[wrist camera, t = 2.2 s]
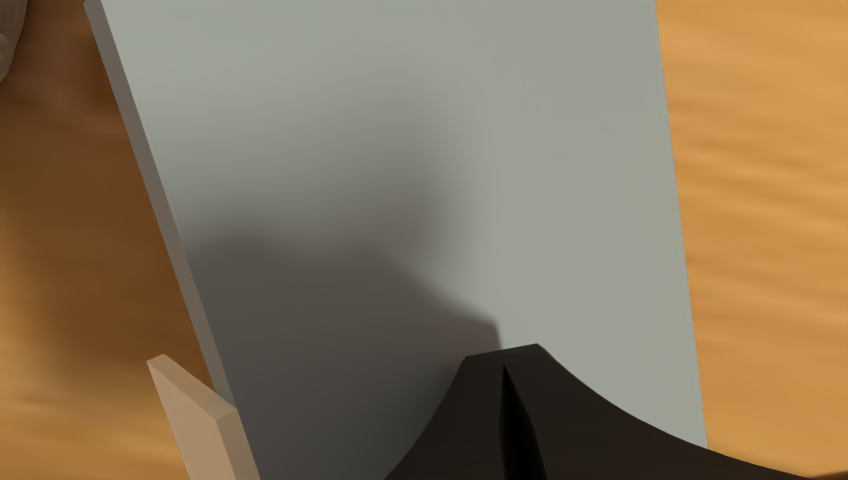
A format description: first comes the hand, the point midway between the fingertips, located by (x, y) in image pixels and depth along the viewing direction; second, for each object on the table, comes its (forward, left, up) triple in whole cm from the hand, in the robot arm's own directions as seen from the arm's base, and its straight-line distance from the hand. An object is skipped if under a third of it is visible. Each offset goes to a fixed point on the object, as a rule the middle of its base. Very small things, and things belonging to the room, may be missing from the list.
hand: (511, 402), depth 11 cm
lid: (0, +2, -3) cm, 4 cm away
